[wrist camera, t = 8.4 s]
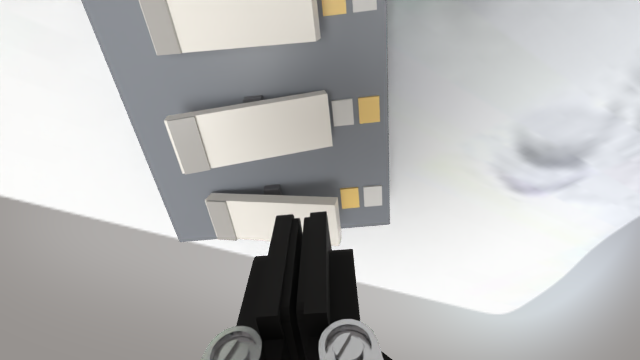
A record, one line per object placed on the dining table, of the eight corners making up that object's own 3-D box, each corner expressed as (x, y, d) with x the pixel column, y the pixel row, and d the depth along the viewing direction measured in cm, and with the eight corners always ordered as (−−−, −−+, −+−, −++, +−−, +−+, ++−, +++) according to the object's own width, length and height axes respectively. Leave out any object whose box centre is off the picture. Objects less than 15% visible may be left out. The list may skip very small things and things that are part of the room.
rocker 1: (312, -40, 17) (305, -41, 16) (320, 38, 19) (315, 42, 18) (146, -14, 20) (131, -13, 19) (167, 51, 21) (154, 55, 20)
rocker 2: (324, 89, 22) (328, 94, 21) (329, 140, 24) (333, 147, 23) (167, 116, 21) (163, 122, 20) (185, 167, 23) (182, 175, 22)
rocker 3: (337, 197, 24) (334, 206, 23) (341, 237, 25) (338, 248, 24) (211, 192, 26) (203, 201, 25) (223, 229, 28) (215, 239, 27)
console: (373, -61, 23) (387, -75, 18) (380, 192, 32) (391, 229, 28) (116, -26, 24) (61, -29, 19) (198, 209, 34) (176, 247, 29)
